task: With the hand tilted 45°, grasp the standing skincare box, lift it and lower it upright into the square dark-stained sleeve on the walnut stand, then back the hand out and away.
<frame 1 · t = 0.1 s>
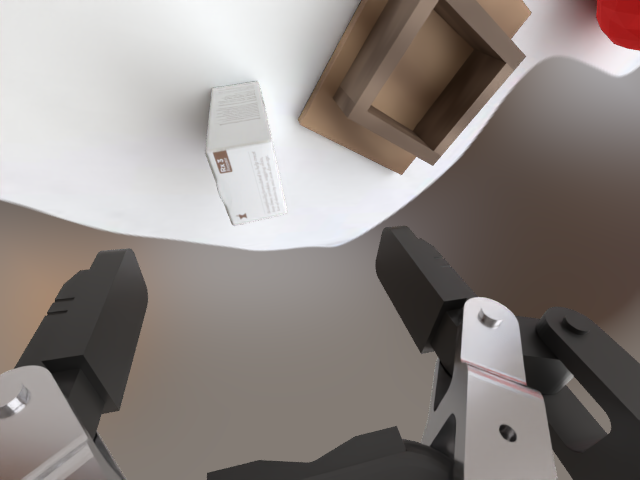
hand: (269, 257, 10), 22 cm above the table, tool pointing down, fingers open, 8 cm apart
sleeve stand: (406, 66, 29), on the table
skincare box: (241, 114, 29), on the table
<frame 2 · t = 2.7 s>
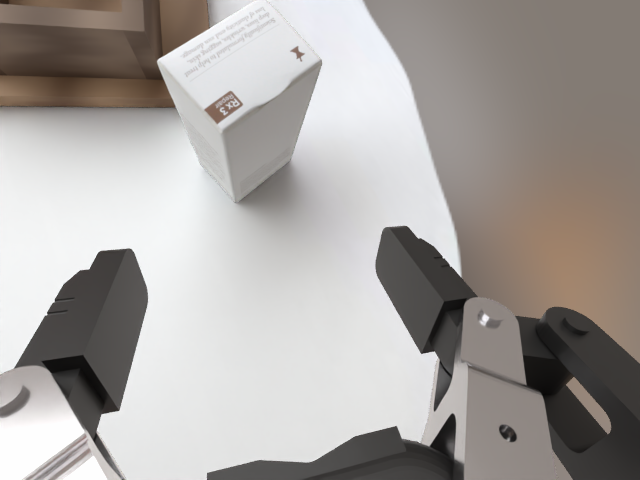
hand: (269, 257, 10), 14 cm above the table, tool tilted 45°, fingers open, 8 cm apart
sleeve stand: (87, 23, 24), on the table
skincare box: (247, 166, 25), on the table
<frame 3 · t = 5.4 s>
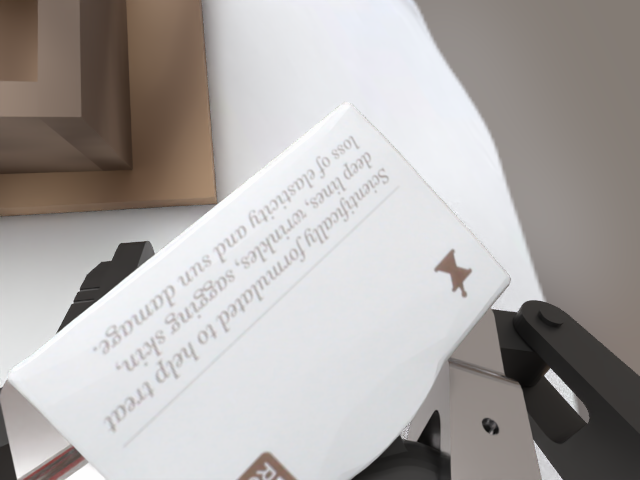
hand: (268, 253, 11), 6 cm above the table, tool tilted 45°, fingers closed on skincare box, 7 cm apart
sleeve stand: (11, 75, 15), on the table
skincare box: (265, 295, 16), on the table, touching gripper
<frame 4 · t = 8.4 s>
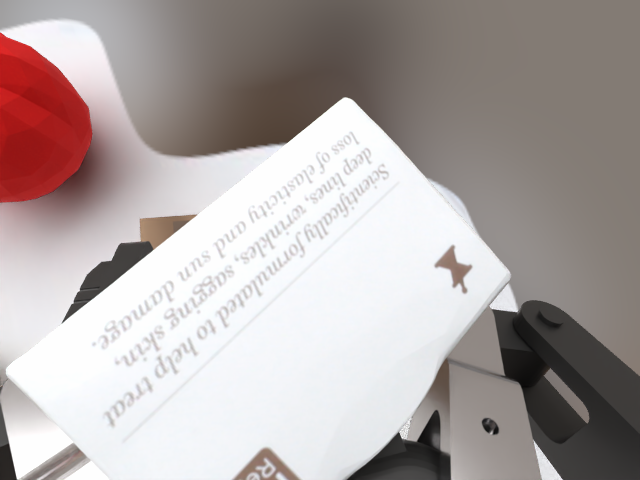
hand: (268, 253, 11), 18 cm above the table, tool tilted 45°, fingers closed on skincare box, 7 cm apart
tomato: (37, 149, 26), on the table
sleeve stand: (258, 289, 28), on the table
skincare box: (265, 294, 16), point 12 cm above the table, touching gripper
when the fingers open (8 cm above the table, at t = 11.4 s): skincare box drops 1 cm, resting on sleeve stand.
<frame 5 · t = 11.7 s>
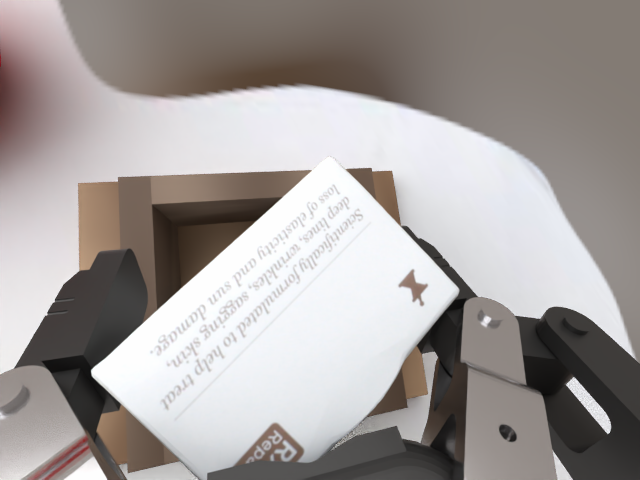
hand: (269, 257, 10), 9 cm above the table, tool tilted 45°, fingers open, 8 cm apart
sleeve stand: (263, 295, 18), on the table
skincare box: (266, 299, 17), point 1 cm above the table, touching sleeve stand
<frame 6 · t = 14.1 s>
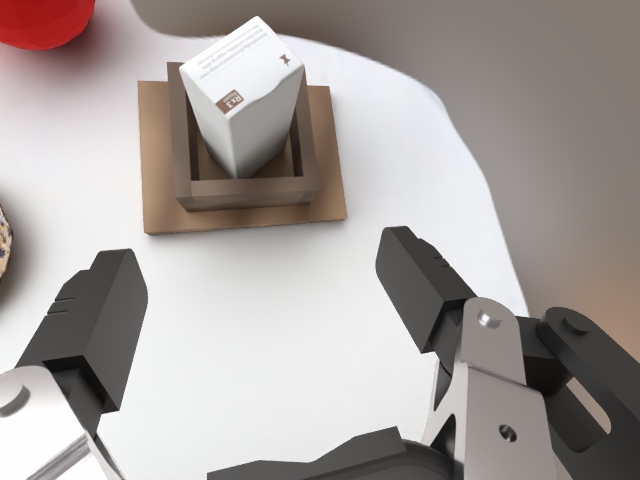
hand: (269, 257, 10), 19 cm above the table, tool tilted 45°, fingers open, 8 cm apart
tomato: (44, 19, 28), on the table
sleeve stand: (246, 157, 30), on the table
skincare box: (247, 154, 29), point 1 cm above the table, touching sleeve stand
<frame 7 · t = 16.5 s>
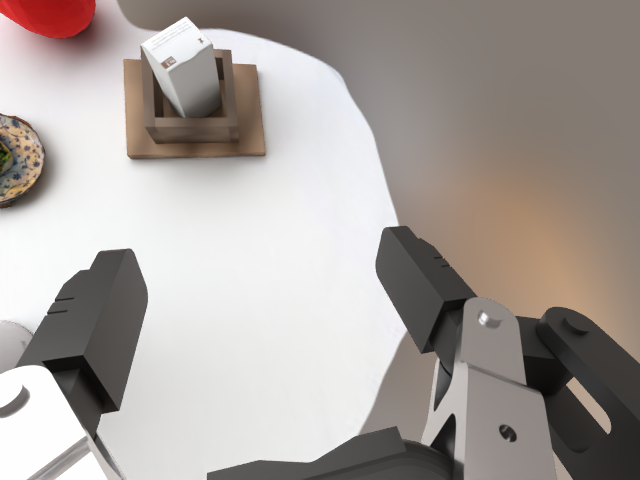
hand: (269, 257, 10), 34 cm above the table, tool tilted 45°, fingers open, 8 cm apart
tomato: (62, 18, 43), on the table
sleeve stand: (197, 111, 45), on the table
skincare box: (197, 109, 44), point 1 cm above the table, touching sleeve stand
plate of food: (0, 163, 39), on the table
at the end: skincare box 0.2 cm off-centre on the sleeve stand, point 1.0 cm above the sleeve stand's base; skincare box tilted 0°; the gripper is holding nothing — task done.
